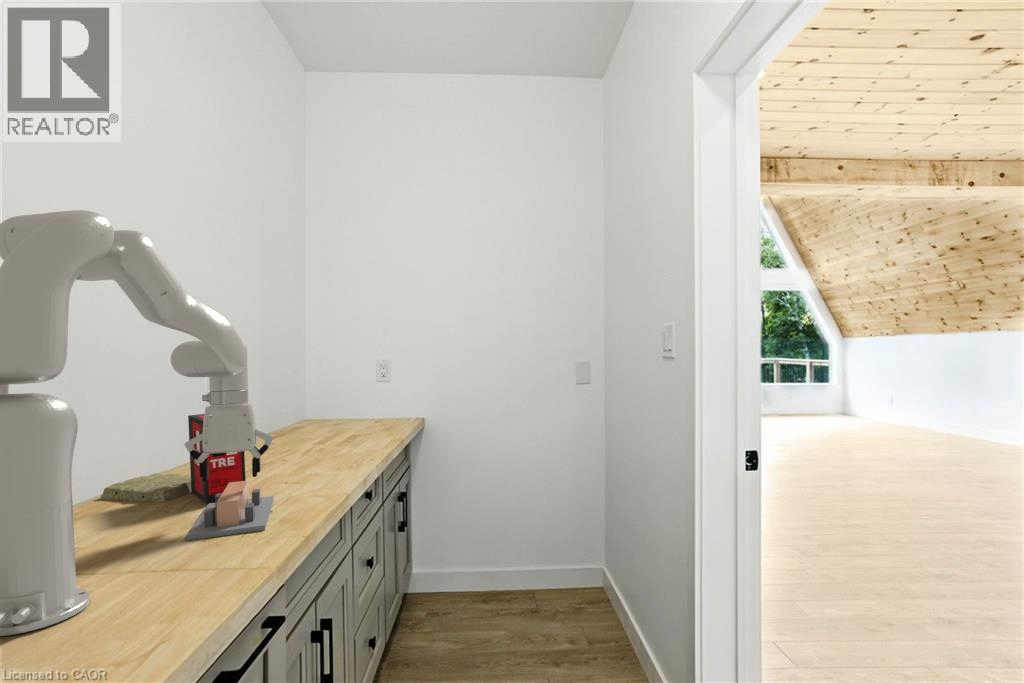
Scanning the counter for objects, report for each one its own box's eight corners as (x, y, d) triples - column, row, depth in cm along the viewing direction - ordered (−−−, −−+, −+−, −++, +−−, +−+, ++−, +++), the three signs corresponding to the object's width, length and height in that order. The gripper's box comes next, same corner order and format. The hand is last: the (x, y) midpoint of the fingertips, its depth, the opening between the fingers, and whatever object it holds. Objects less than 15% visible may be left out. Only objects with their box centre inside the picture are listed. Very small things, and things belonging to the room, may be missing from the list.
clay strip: (239, 524, 118) (238, 500, 118) (217, 527, 117) (216, 502, 117) (249, 501, 136) (248, 480, 136) (230, 504, 134) (229, 482, 134)
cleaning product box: (246, 496, 145) (242, 416, 144) (206, 504, 139) (203, 420, 139) (228, 485, 157) (225, 411, 157) (191, 492, 151) (188, 415, 151)
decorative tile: (154, 484, 165) (153, 471, 165) (215, 485, 160) (215, 472, 160) (94, 502, 146) (93, 488, 146) (162, 504, 142) (161, 490, 142)
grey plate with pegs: (264, 530, 117) (264, 510, 117) (186, 540, 113) (186, 520, 113) (273, 500, 140) (272, 483, 140) (209, 507, 136) (208, 490, 136)
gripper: (180, 402, 120) (181, 485, 119) (270, 397, 125) (272, 477, 125) (188, 400, 127) (189, 478, 126) (273, 395, 132) (275, 471, 132)
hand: (230, 478), depth 126 cm, fingers open, 9 cm apart
